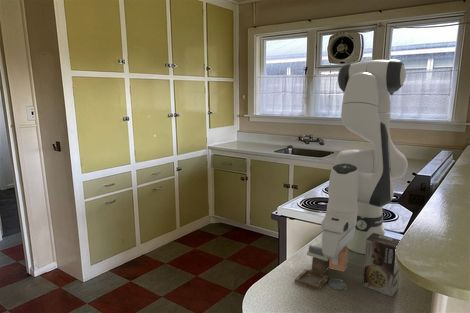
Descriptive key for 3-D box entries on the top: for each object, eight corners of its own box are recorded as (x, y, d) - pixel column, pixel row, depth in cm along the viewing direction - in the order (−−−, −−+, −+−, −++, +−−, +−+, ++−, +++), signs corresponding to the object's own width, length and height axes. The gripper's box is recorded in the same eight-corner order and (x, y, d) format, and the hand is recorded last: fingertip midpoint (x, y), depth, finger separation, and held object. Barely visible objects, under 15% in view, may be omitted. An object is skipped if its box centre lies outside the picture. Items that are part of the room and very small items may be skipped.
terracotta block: (346, 265, 106) (347, 247, 105) (343, 271, 102) (345, 253, 101) (332, 261, 108) (333, 244, 107) (329, 268, 104) (330, 249, 103)
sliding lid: (318, 244, 121) (318, 236, 120) (337, 249, 117) (338, 241, 116) (306, 255, 113) (307, 246, 112) (327, 261, 109) (327, 252, 108)
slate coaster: (331, 278, 110) (331, 277, 110) (348, 284, 107) (348, 282, 107) (325, 286, 106) (325, 284, 106) (343, 292, 103) (343, 290, 103)
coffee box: (398, 288, 105) (403, 240, 102) (391, 297, 100) (397, 247, 97) (369, 277, 111) (373, 231, 108) (361, 285, 106) (365, 238, 103)
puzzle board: (316, 260, 123) (317, 245, 121) (337, 266, 118) (338, 251, 117) (294, 282, 108) (295, 265, 107) (318, 290, 104) (319, 273, 102)
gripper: (342, 206, 112) (339, 245, 115) (318, 225, 96) (316, 269, 98) (361, 210, 109) (358, 250, 111) (340, 230, 92) (337, 276, 95)
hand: (338, 259), depth 105 cm, fingers closed on terracotta block, 5 cm apart
